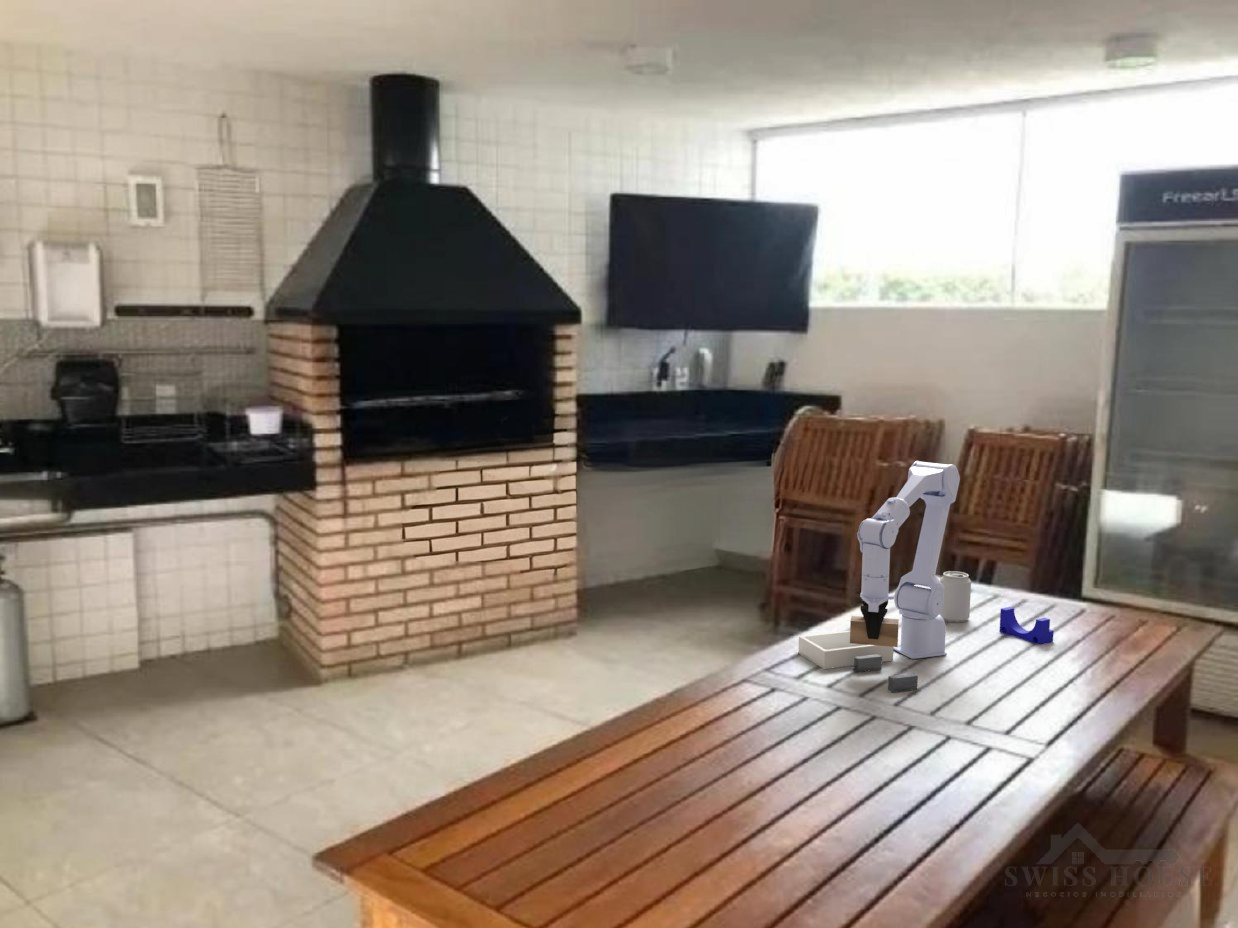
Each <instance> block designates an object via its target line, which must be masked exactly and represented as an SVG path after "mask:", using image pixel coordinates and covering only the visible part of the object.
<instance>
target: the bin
mask: <svg viewBox="0 0 1238 928" xmlns="http://www.w3.org/2000/svg"><path fill="white" fill-rule="evenodd" d="M798 654H799V655H801V656H802V657H804V658H805V659H807V660H809V661H811V662H812V663H814V664H815V665H817V666H819V667H820V668H822V669H823V668H824V669H823V670H825V669H827V668H828V669H833V668H832V667H836V668H840V667H841V668H842V667H843V666H844V667H850V666H851V667H852V666H854V657H858V656H866V655H874V654H879V655H881V656H882V663H883V662H891V661H894V649H893V647H891V646H878V645H865V644H853V643H850V630H844V631H834V632H826V633H825V632H824V633H815V634H807V635H799V636H798ZM828 669H827V670H828Z"/></svg>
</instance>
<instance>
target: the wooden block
mask: <svg viewBox="0 0 1238 928" xmlns="http://www.w3.org/2000/svg"><path fill="white" fill-rule="evenodd" d="M899 621H900V620H899V618H887V617H884V619H883V621H882V625H881V629H880V634H879V638H878V639H868V636H867V630H866V624H865V619H864V617H863V615H862V616H861V615H860V616H859V615H851V616H850V627H849V631H850V643H853V644H865V645H878V646H891V647H898V646H899V623H900V622H899Z"/></svg>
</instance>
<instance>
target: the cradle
mask: <svg viewBox="0 0 1238 928" xmlns="http://www.w3.org/2000/svg"><path fill="white" fill-rule="evenodd" d="M882 665H883V662H882V656H881V655H879V654H874V655H866V656H858V657H854V665H853V671H855V672H856V673H863V672H872V671H879V670H883V669H882V668H883V666H882ZM887 678H888V682H887V691H888V692H890V693H892V694H894V693H901V692H902V693H903V692H908V691H915V690H917V691H918V686H919V685H918V683H919V681H918V680H919V679H918V678H919V675H918V674H916V673H913V672H911V673H905V674H904V673H903V674H897V675H889V676H888V677H887Z"/></svg>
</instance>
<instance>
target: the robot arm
mask: <svg viewBox="0 0 1238 928" xmlns="http://www.w3.org/2000/svg"><path fill="white" fill-rule="evenodd" d="M907 474H908V475H907V481H906V482H905V483H904V485H903V487H902V488H901V490H900V491H899V492H898V494H897V496H896V497H889V498H888V499H887V500H886V501H885V502H884V503H883V504H882V505H881V507H880V508H879V509H878V510H877V512H875V513H874V515H873V516H872V517H871V518H869V517H868V518H866V519H864V520H863V521H861V522H860V524H859V526H858V531H857V533H856V535H857V540H858V542H859V550H860V553H862V558H861V559H862V561H861V562H862V563H861V590H860V591H861V592H860V594H859V595H860V598H861V604H862V605H860V608H859V609H860V612H861V614H862V617H864V619H865V624H866V630H867V636H868V639H878V638H879V634H880V629H881V625H882V621H883V619H884V618H886V615H887V613H888V611H889V609H888V608H887V606H888V605H889V600H893V601H894V605H895V608H896V609H897V610H898V613H899V615H901V632H900V633H901V634H900V637H901V638H900V646H899V645H898V647H893V651H896V652H898V653H900V654H902V655H904V656H906V657H907V658H910V659H912V660H915V659H916V660H917V659H923V658H932V657H939V656H940V657H942V656H947V654H948V652H946V651H945V650H946V631H947V629H946V628H947V627H946V622H945V620H944V619H943V618H942V616H941V615H939V614H940V613H941V611H942V609H943V605H944V586H943V584H942V583H941V582H940V579H939V578H938V577H937V576H936V572H937V568H938V564H939V563H938V562H939V557H940V553H941V549H942V545H943V540H944V535H945V530H946V526H947V520H948V518H949V517H948V516H949V511H950V506H951V505H952V504H954V503H955V502H956V499H957V495H958V490H959V487H960V486H959V485H960V480H961V476H960V473H959V470H958V468H957V466H956V465H955V464H953V463H952V464H951V463H950V464H947V463H946V464H945V463H935V462H926V461H920V460H915V461H914V462H913V463H912V464H911V466H910V467H909V469H908V473H907ZM919 498H920V499H921V500H923V501H924V504H925V510H924V514H923V515H924V516H923V520H922V525H921V529H920V533H919V538H918V542H917V548H916V551H915V552H916V553H915V556H914V560H913V565H912V570H911V571H909V572H907V573H906V574H904V575H903V576H901V577H900V580H899V584H898V586H897V587H896V590H895V592H894V593H889V590H890V560H891V558H890V557H891V548H892V547H893V545H894V544H895V542H896V539H897V536H898V533H899V532H900V530H899V528H900V527H901V526H902V525H903V524H904V523H905V522H906V520H907V519H908V518H909V516H910V514H911V509H910V507H911V506H912V505H913V504H914V503H916V501H917V500H918V499H919Z"/></svg>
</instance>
